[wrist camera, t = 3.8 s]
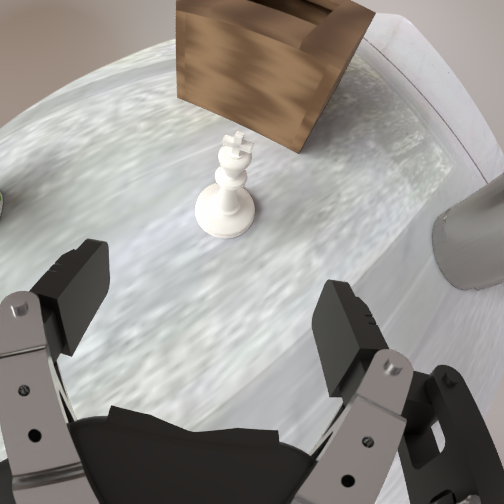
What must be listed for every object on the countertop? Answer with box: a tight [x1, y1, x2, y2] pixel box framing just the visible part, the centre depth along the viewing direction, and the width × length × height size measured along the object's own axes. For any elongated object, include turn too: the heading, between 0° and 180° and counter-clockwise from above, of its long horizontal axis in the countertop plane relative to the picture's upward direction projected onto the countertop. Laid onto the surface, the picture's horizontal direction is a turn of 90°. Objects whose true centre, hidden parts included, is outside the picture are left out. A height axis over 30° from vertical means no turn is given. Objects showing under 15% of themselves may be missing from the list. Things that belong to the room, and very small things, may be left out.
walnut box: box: [176, 0, 376, 154], centre depth 24 cm, size 14×14×12 cm
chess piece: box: [195, 131, 255, 238], centre depth 20 cm, size 5×5×10 cm
